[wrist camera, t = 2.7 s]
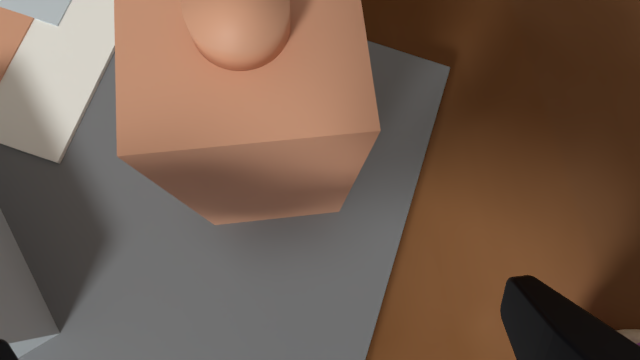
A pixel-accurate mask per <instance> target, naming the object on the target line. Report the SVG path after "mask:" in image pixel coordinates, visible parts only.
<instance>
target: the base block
mask: <svg viewBox="0 0 640 360" xmlns="http://www.w3.org/2000/svg"><path fill="white" fill-rule="evenodd" d="M58 334H60V332H59V330H58V328H57V326H56V324H55V322H54V320H53V318H52V316H51V314H50V311H49V309H48V307H47V305H46V303H45V301H44V299H43V297H42V295H41V293H40V291H39V288H38V286H37V284H36V282H35V280H34V278H33V276H32V274H31V272H30V270H29V268H28V265H27V263H26V261H25V259H24V257H23V255H22V253H21V251H20V249H19V247H18V245H17V242H16V240H15V238H14V236H13V234H12V232H11V230H10V228H9V226H8V224H7V221H6V219H5V217H4V215H3V213H2V211H1V209H0V339H3V340H5V341H7V342H8V343H9V345H10V347H11V348H12V350H13V351H14V353H15V354H16V356H17V358H19V357H21V356H23V355H24V354H26V353H28V352H29V351H31V350H33V349H34V348H36V347H38V346H39V345H41V344H43V343H45V342H46V341H48V340H50V339H51V338H53V337H55V336H56V335H58Z"/></svg>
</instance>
